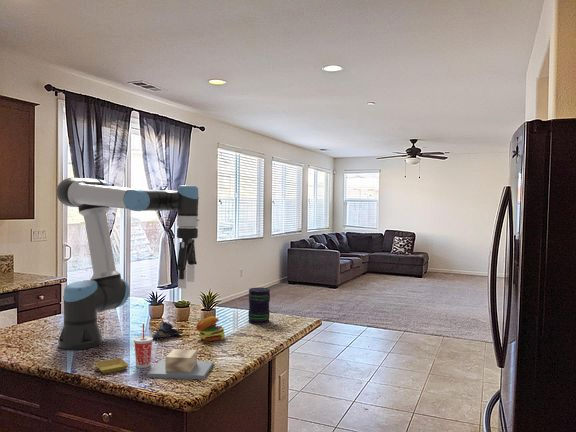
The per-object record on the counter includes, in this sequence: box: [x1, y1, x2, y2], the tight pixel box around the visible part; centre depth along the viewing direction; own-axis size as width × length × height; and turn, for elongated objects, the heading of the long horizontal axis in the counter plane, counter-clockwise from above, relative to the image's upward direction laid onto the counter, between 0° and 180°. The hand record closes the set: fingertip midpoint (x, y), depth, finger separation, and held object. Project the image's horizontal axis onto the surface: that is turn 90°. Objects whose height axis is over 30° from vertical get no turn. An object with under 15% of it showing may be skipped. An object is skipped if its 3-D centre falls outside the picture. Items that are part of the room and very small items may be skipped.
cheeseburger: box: [196, 315, 226, 342], centre depth 188 cm, size 10×11×10 cm
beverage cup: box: [133, 323, 154, 369], centre depth 156 cm, size 6×6×14 cm
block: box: [164, 348, 198, 372], centre depth 151 cm, size 8×8×4 cm
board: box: [146, 359, 214, 380], centre depth 151 cm, size 18×13×1 cm
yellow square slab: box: [94, 357, 129, 375], centre depth 152 cm, size 9×9×2 cm
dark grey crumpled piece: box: [151, 320, 184, 339], centre depth 191 cm, size 12×7×12 cm
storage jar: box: [247, 287, 271, 325], centre depth 215 cm, size 10×10×15 cm
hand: (186, 284), depth 173 cm, fingers open, 13 cm apart
